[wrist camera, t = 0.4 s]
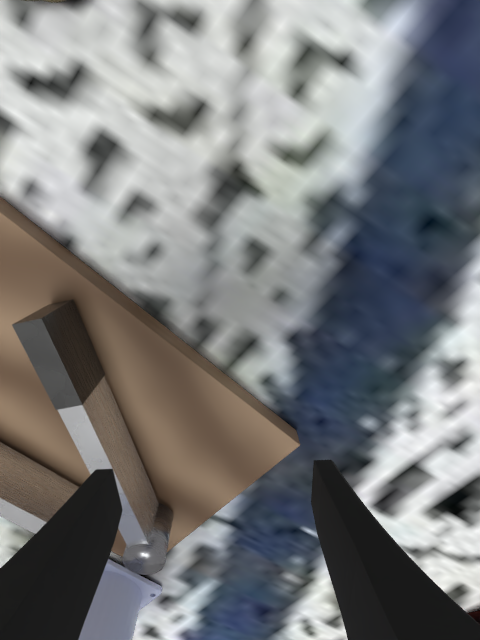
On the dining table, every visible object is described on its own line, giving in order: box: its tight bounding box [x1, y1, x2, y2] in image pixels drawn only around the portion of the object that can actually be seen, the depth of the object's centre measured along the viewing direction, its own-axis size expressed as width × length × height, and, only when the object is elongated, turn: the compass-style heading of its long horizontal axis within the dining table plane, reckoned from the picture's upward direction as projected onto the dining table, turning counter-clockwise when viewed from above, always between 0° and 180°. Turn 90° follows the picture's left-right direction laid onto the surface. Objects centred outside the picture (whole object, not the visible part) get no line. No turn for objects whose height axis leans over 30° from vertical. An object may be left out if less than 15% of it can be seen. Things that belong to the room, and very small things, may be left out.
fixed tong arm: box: [0, 442, 79, 534], centre depth 20 cm, size 15×2×3 cm, turn 47°
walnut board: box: [0, 197, 300, 557], centre depth 22 cm, size 18×24×2 cm
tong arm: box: [12, 299, 173, 575], centre depth 19 cm, size 19×3×3 cm, turn 12°
